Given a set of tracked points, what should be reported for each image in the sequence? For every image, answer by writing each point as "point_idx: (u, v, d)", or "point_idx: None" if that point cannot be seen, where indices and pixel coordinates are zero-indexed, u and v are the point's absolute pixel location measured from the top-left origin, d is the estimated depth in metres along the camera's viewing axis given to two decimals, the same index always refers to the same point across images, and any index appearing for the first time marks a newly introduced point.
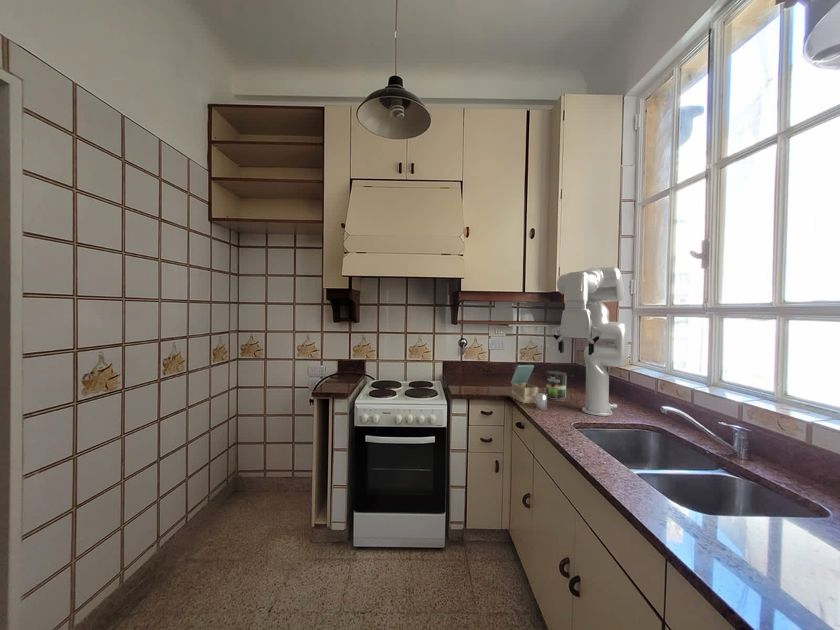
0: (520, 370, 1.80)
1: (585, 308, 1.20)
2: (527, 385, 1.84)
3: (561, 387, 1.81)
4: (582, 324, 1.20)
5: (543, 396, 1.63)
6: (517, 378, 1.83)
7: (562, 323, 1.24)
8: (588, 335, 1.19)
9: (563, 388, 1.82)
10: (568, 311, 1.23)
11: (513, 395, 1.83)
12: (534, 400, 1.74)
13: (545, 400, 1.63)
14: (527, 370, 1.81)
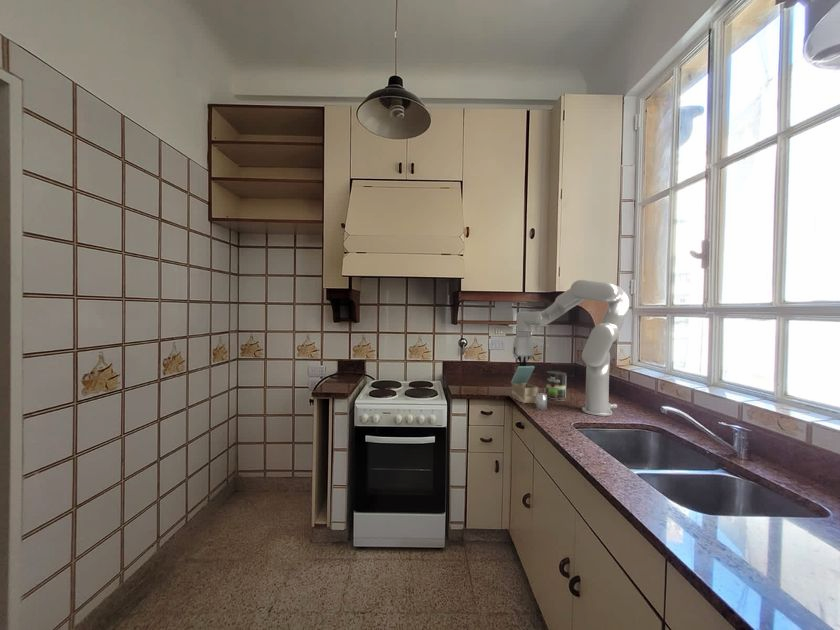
0: (521, 370, 1.79)
1: None
2: (527, 385, 1.84)
3: (561, 387, 1.81)
4: (530, 347, 1.80)
5: (543, 396, 1.63)
6: (517, 378, 1.83)
7: (518, 346, 1.79)
8: (532, 354, 1.81)
9: (563, 388, 1.82)
10: (522, 338, 1.79)
11: (513, 395, 1.83)
12: (534, 400, 1.74)
13: (545, 400, 1.63)
14: (527, 371, 1.80)
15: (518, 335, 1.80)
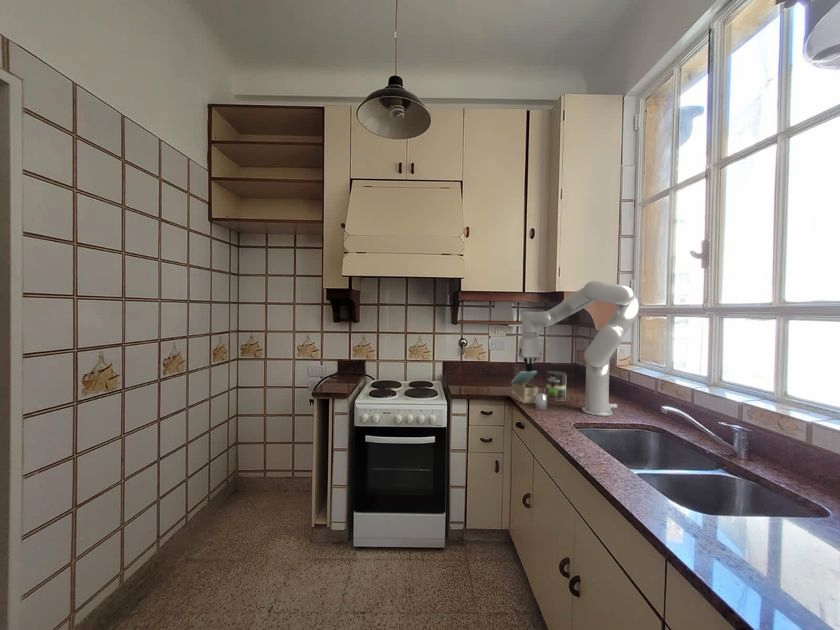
0: (523, 374, 1.77)
1: None
2: (527, 385, 1.84)
3: (561, 387, 1.81)
4: (536, 348, 1.74)
5: (543, 396, 1.63)
6: (518, 380, 1.82)
7: (524, 348, 1.73)
8: None
9: (563, 388, 1.82)
10: (528, 339, 1.73)
11: (513, 395, 1.83)
12: (534, 400, 1.74)
13: (545, 400, 1.63)
14: (529, 375, 1.79)
15: (524, 336, 1.74)
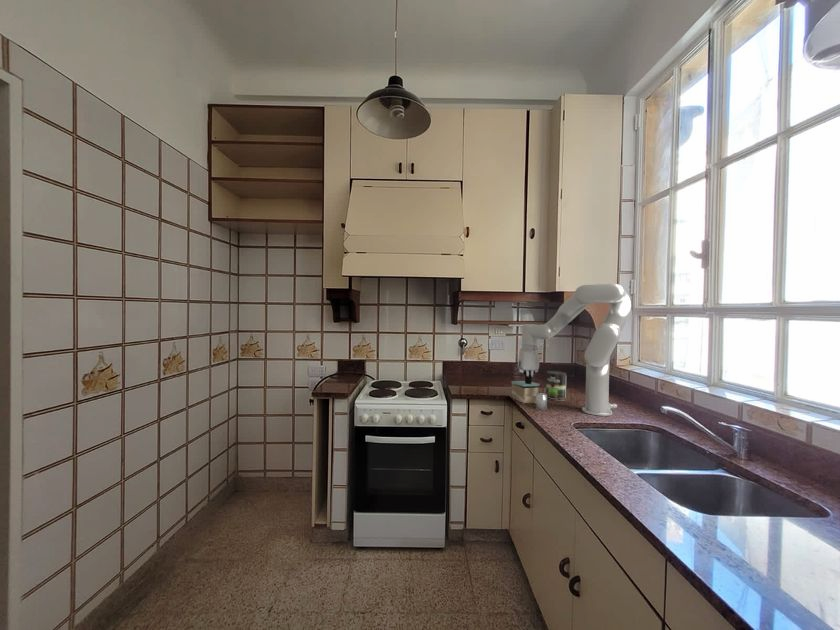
0: None
1: (536, 349, 1.75)
2: None
3: (561, 387, 1.81)
4: (535, 361, 1.74)
5: (543, 396, 1.63)
6: None
7: (523, 360, 1.73)
8: (538, 368, 1.75)
9: (563, 388, 1.82)
10: (527, 352, 1.73)
11: (513, 395, 1.83)
12: (534, 400, 1.74)
13: (545, 400, 1.63)
14: None
15: (523, 349, 1.74)
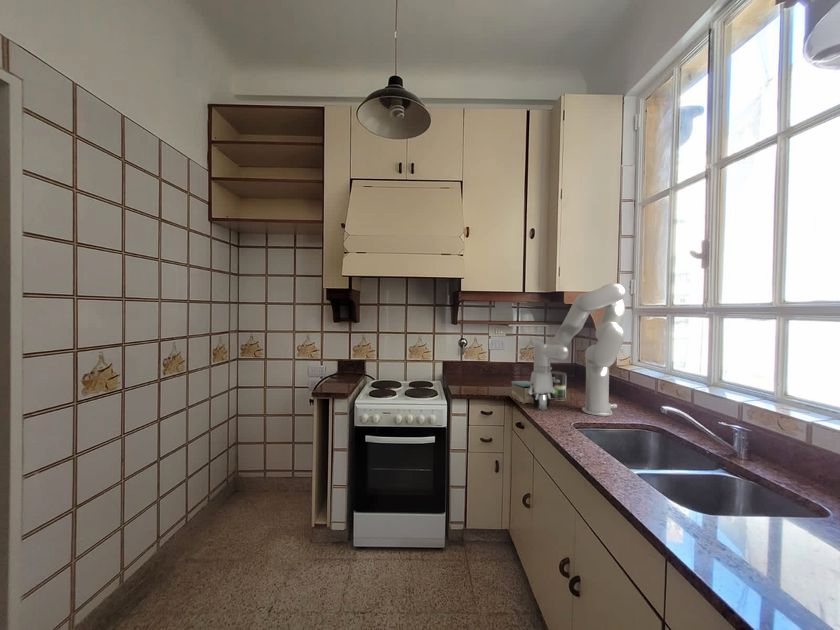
0: None
1: None
2: None
3: (561, 387, 1.81)
4: (549, 383, 1.64)
5: (543, 396, 1.63)
6: None
7: (536, 383, 1.62)
8: (552, 390, 1.64)
9: (563, 388, 1.82)
10: (540, 374, 1.62)
11: (513, 395, 1.83)
12: None
13: (545, 400, 1.63)
14: None
15: (536, 370, 1.64)
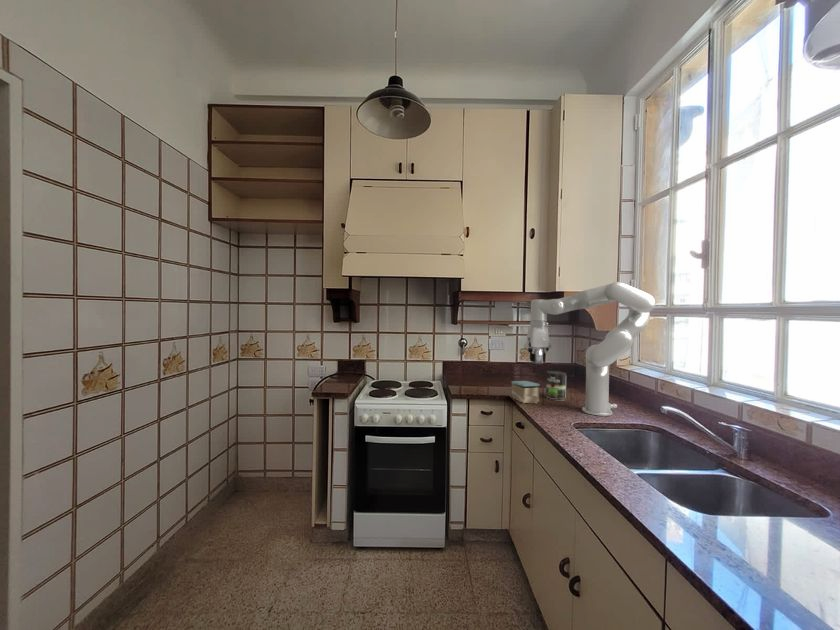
0: None
1: None
2: None
3: (561, 387, 1.81)
4: (545, 337, 1.67)
5: (539, 350, 1.66)
6: None
7: (533, 337, 1.65)
8: (548, 345, 1.68)
9: (563, 388, 1.82)
10: (537, 328, 1.66)
11: (513, 395, 1.83)
12: (534, 400, 1.74)
13: (541, 354, 1.66)
14: None
15: (533, 325, 1.67)
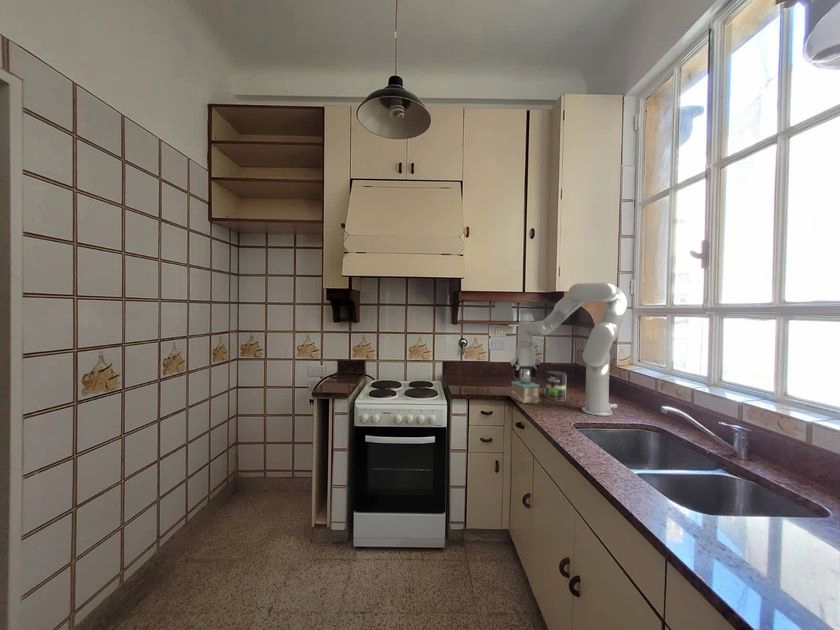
0: None
1: None
2: None
3: (561, 387, 1.81)
4: (532, 357, 1.78)
5: (527, 371, 1.77)
6: None
7: (520, 357, 1.77)
8: (534, 364, 1.79)
9: (563, 388, 1.82)
10: (524, 348, 1.77)
11: (513, 395, 1.83)
12: (534, 400, 1.74)
13: (528, 375, 1.78)
14: None
15: (520, 345, 1.78)
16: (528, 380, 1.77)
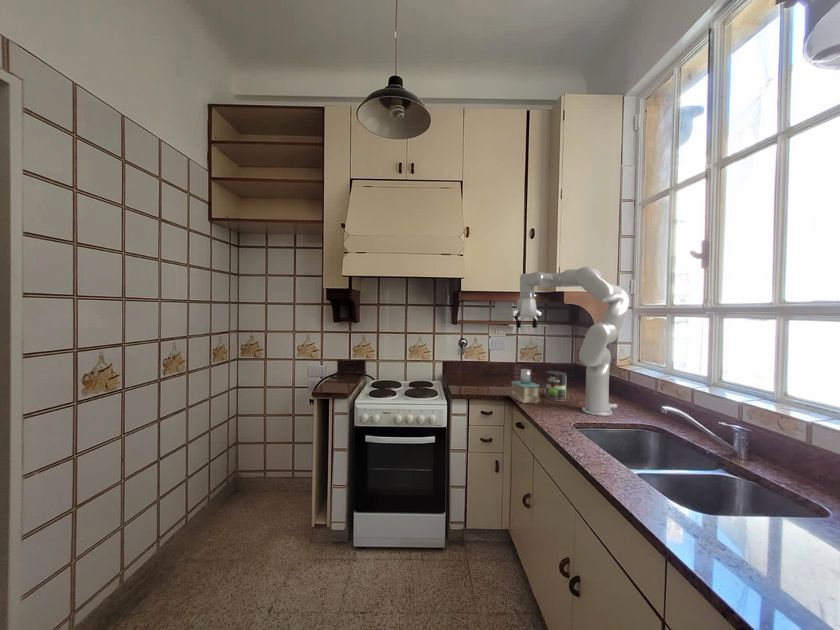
0: None
1: None
2: None
3: (561, 387, 1.81)
4: (533, 308, 1.85)
5: (527, 371, 1.77)
6: None
7: (521, 307, 1.84)
8: (535, 315, 1.86)
9: (563, 388, 1.82)
10: (525, 299, 1.84)
11: (513, 395, 1.83)
12: (534, 400, 1.74)
13: (529, 375, 1.77)
14: None
15: (521, 296, 1.85)
16: (528, 380, 1.77)
